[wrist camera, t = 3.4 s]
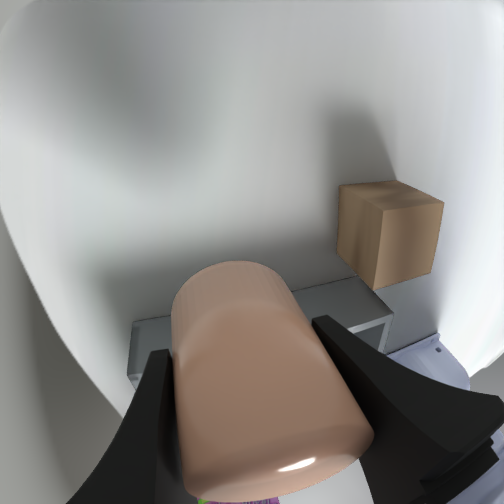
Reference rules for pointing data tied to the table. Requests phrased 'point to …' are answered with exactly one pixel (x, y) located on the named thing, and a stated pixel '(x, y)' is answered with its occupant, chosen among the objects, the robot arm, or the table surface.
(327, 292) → the tote
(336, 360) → the robot arm
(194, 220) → the table surface
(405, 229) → the walnut cube
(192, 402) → the terracotta cylinder
